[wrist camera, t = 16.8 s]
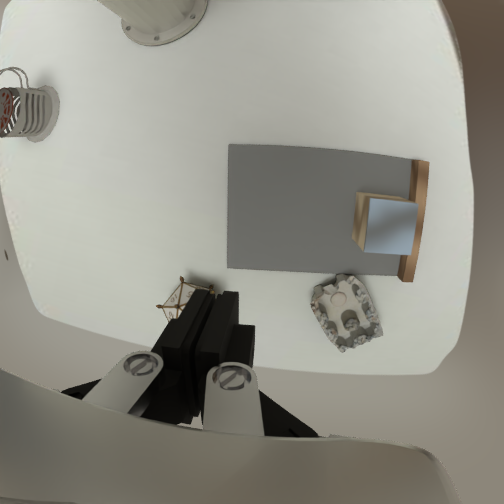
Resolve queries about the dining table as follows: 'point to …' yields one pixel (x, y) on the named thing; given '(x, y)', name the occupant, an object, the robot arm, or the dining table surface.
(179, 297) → the game die
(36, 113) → the french press
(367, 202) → the block
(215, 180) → the dining table surface
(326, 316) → the carved stone fragment
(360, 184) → the grey rectangular board
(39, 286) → the dining table surface
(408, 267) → the rail
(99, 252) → the dining table surface
